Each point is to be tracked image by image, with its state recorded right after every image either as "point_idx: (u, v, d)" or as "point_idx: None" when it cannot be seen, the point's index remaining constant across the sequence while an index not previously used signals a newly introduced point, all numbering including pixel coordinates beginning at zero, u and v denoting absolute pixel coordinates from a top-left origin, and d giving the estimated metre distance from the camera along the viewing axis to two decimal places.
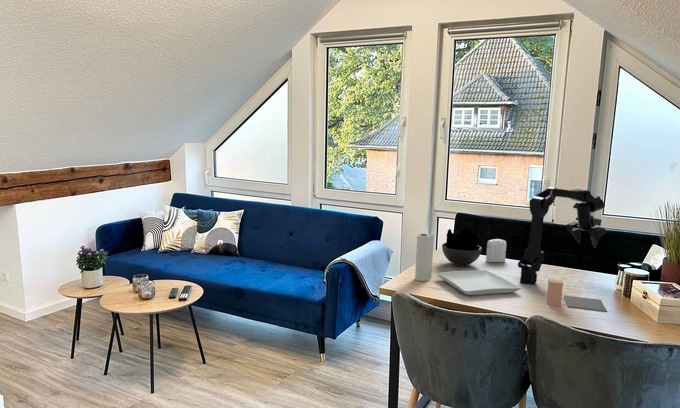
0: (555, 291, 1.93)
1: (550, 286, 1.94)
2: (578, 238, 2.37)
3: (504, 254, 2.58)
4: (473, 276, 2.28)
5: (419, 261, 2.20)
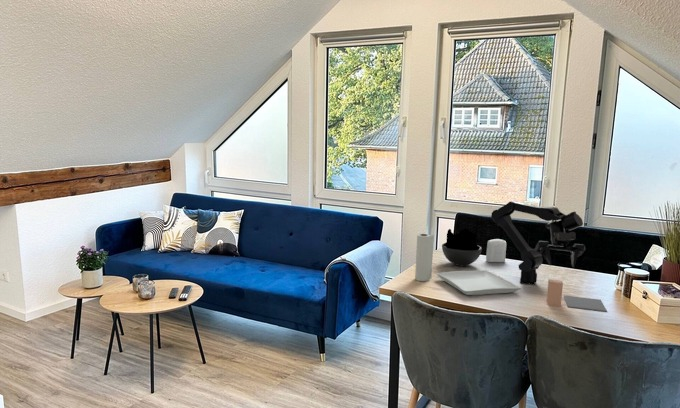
0: (555, 291, 1.93)
1: (550, 286, 1.94)
2: (572, 261, 2.03)
3: (504, 254, 2.58)
4: (473, 276, 2.28)
5: (419, 261, 2.20)
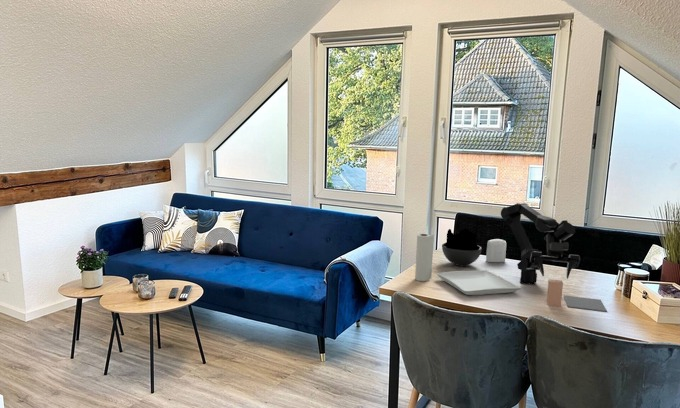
0: (555, 291, 1.93)
1: (550, 286, 1.94)
2: (567, 272, 1.98)
3: (504, 254, 2.58)
4: (473, 276, 2.28)
5: (419, 261, 2.20)
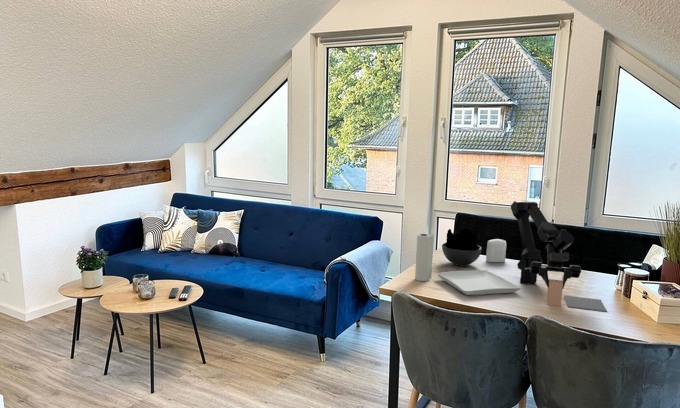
0: (555, 291, 1.93)
1: (550, 286, 1.94)
2: None
3: (504, 254, 2.58)
4: (473, 276, 2.28)
5: (419, 261, 2.20)
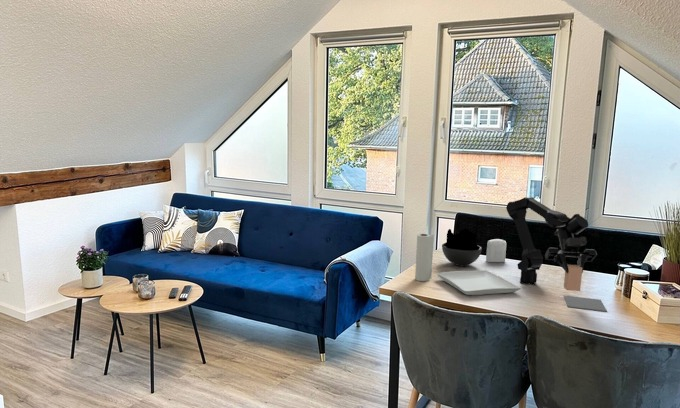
0: (574, 276, 1.92)
1: (570, 271, 1.92)
2: None
3: (504, 254, 2.58)
4: (473, 276, 2.28)
5: (419, 261, 2.20)
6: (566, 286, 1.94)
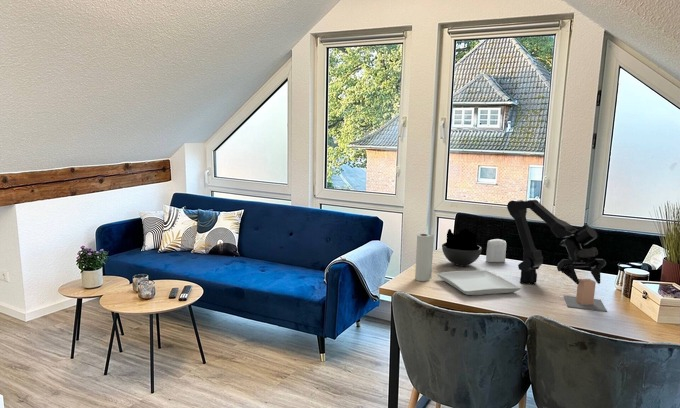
0: (589, 290, 1.94)
1: (584, 286, 1.93)
2: (596, 277, 1.97)
3: (504, 254, 2.58)
4: (473, 276, 2.28)
5: (419, 261, 2.20)
6: (580, 300, 1.95)
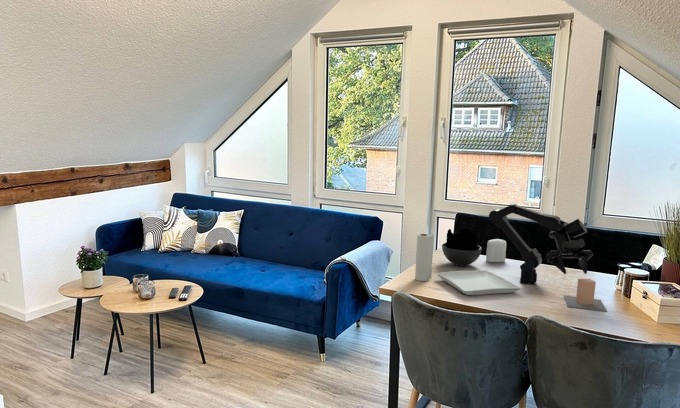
0: (589, 290, 1.94)
1: (584, 286, 1.93)
2: (583, 268, 2.05)
3: (504, 254, 2.58)
4: (473, 276, 2.28)
5: (419, 261, 2.20)
6: (580, 300, 1.95)
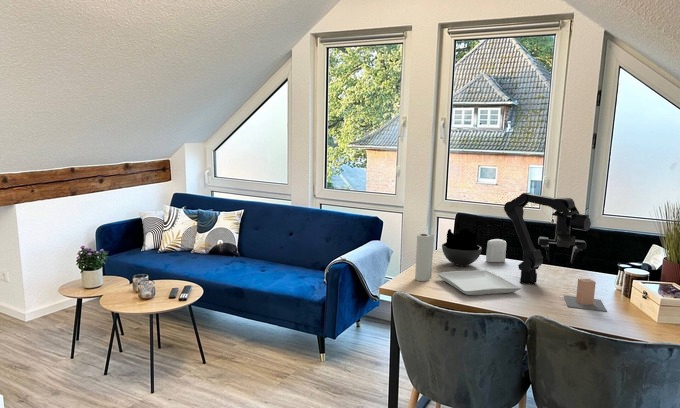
0: (589, 290, 1.94)
1: (584, 286, 1.93)
2: None
3: (504, 254, 2.58)
4: (473, 276, 2.28)
5: (419, 261, 2.20)
6: (580, 300, 1.95)
